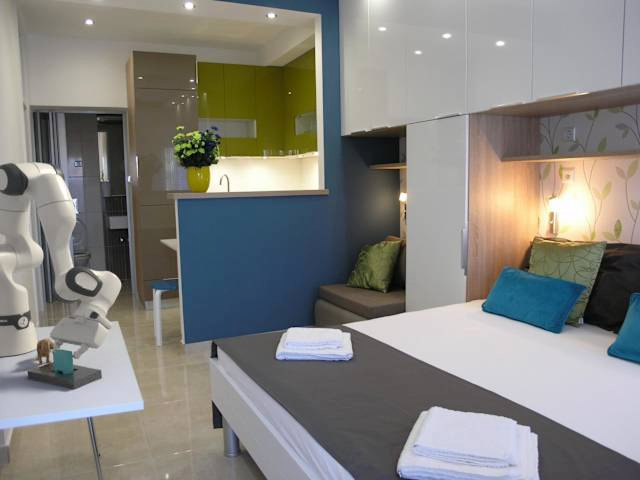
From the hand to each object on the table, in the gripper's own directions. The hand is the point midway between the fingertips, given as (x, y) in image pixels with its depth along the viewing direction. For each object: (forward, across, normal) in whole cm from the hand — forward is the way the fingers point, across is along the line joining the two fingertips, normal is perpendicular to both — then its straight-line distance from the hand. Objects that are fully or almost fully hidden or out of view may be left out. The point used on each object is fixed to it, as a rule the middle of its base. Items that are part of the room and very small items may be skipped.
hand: (64, 355), depth 174 cm
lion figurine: (0, -20, +11) cm, 23 cm away
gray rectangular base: (+5, 0, +4) cm, 7 cm away
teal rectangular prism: (+5, 0, +4) cm, 7 cm away
